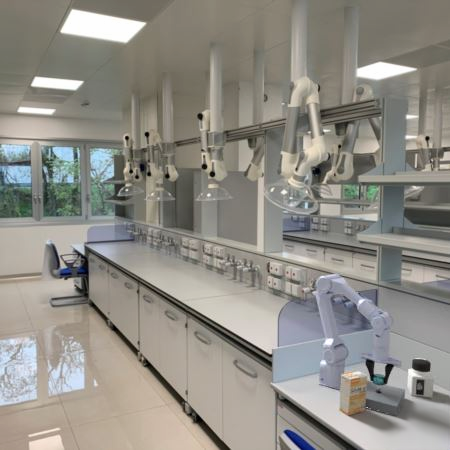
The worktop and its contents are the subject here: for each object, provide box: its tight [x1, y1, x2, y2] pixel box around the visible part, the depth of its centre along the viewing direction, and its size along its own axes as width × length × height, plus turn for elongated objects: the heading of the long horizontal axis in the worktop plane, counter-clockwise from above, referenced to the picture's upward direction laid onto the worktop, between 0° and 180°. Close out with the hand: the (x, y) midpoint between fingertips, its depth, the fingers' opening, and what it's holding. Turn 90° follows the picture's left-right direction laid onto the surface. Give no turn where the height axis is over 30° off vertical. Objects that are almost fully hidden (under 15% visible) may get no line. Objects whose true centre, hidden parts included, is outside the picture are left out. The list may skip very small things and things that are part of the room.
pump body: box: [365, 380, 406, 417], centre depth 164 cm, size 16×16×4 cm
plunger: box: [372, 373, 386, 394], centre depth 163 cm, size 4×4×6 cm
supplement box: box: [339, 370, 368, 416], centre depth 155 cm, size 8×5×13 cm, turn 118°
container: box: [406, 357, 435, 399], centre depth 171 cm, size 8×8×13 cm
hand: (378, 381), depth 163 cm, fingers closed on plunger, 4 cm apart
